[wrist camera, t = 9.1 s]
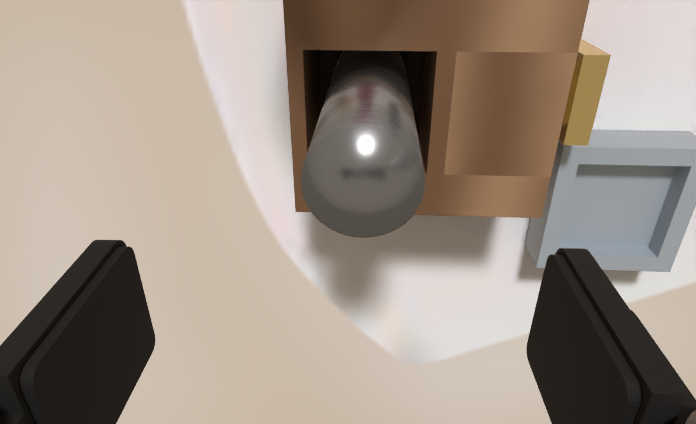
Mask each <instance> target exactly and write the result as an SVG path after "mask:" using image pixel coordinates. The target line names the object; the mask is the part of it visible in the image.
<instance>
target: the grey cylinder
mask: <svg viewBox="0 0 696 424" xmlns="http://www.w3.org/2000/svg"><path fill="white" fill-rule="evenodd" d="M301 188H302V193H303V197H304V199H305V202H306V204H307V206H308V208H309V209H310V211H311V212H312V213H313V215H314V216H315V217H316V218H317V219H318V220H319V221H320V222H321V223H323V224H324V225H325V226H327V227H329V228H330V229H332V230H334V231H336V232H338V233H341V234H344V235H348V236H353V237H375V236H380V235H384V234H386V233H389V232H392V231H394V230H395V229H397V228H399V227H400V226H402V225H403V224H405V223H406V222H407V221H408V220H409V219H410V218H411V217H412V216H413V215H414V213H415V212H416V211H417V209H418V207H419V205H420V203H421V201H422V198H423V195H424V190H425V174H424V168H423V163H422V157H421V151H420V146H419V140H418V135H417V129H416V124H415V118H414V112H413V107H412V101H411V96H410V90H409V85H408V79H407V74H406V68H405V64H404V61H403V59H402V57H401V55H400V53H399V52H398V51H358V50H344V52H343V53H342V54H341V56H340V57H339V59H338V62H337V65H336V68H335V71H334V74H333V77H332V80H331V83H330V86H329V89H328V92H327V95H326V98H325V101H324V104H323V107H322V110H321V113H320V116H319V119H318V122H317V125H316V128H315V131H314V134H313V137H312V140H311V143H310V147H309V150H308V153H307V156H306V159H305V162H304V165H303V168H302V173H301Z"/></svg>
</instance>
